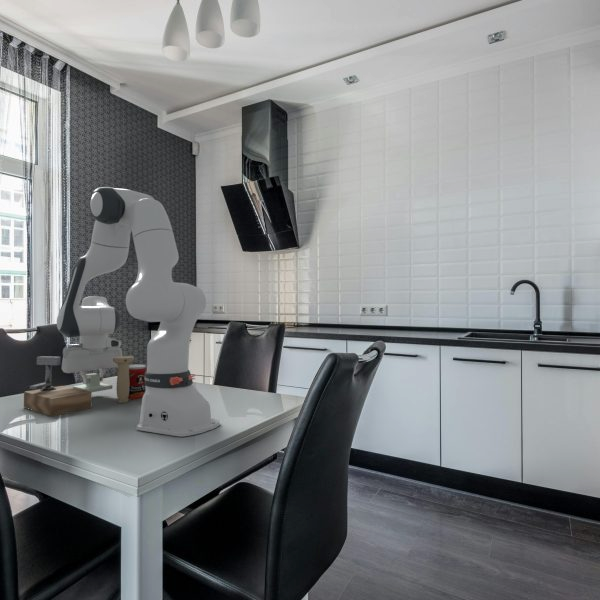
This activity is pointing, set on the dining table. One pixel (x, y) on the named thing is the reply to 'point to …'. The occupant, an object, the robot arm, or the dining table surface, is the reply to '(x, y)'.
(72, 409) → the case
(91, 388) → the lid
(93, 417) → the dining table surface
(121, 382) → the handle
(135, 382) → the canned food
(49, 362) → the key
